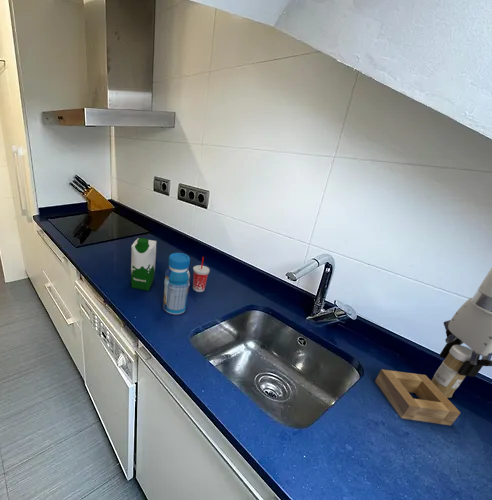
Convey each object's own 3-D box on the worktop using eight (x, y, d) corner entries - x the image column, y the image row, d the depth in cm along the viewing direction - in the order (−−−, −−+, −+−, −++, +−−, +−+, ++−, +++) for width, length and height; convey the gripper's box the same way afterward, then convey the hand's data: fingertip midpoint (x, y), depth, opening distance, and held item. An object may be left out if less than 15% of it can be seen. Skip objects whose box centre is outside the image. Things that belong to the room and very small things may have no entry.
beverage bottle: (174, 318, 94) (179, 265, 86) (157, 306, 100) (160, 255, 92) (191, 309, 99) (198, 258, 91) (174, 298, 105) (179, 249, 97)
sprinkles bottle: (455, 400, 70) (486, 360, 64) (433, 395, 71) (460, 355, 65) (444, 385, 74) (471, 346, 68) (423, 380, 75) (448, 341, 69)
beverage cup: (203, 295, 107) (208, 262, 102) (188, 290, 110) (192, 258, 104) (208, 287, 112) (213, 256, 106) (194, 283, 115) (198, 252, 109)
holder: (417, 387, 73) (425, 374, 71) (450, 426, 64) (460, 412, 62) (374, 381, 74) (381, 369, 72) (401, 418, 65) (409, 405, 63)
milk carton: (128, 288, 110) (129, 240, 101) (135, 277, 118) (136, 232, 109) (150, 292, 108) (153, 244, 99) (156, 280, 116) (159, 235, 107)
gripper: (566, 332, 53) (509, 399, 61) (481, 284, 68) (444, 343, 76) (520, 327, 54) (469, 394, 62) (447, 281, 69) (413, 339, 77)
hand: (456, 365), depth 69 cm, fingers closed on sprinkles bottle, 4 cm apart
